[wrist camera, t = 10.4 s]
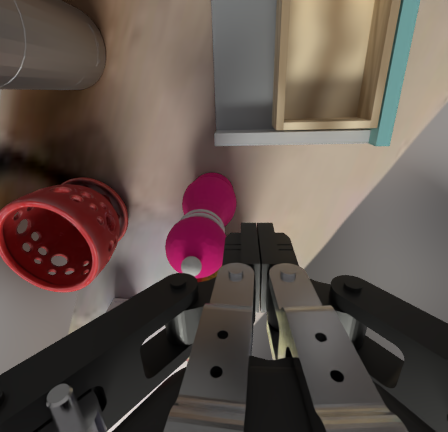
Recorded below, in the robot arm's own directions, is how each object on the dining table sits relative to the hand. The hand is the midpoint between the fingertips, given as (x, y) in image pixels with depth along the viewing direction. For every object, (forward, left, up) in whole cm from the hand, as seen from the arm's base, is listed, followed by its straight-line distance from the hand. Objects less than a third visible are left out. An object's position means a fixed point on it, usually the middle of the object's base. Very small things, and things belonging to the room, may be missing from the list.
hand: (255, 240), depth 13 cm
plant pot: (-24, -10, -27) cm, 38 cm away
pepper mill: (-5, -7, -27) cm, 29 cm away
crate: (+9, +10, -26) cm, 29 cm away
